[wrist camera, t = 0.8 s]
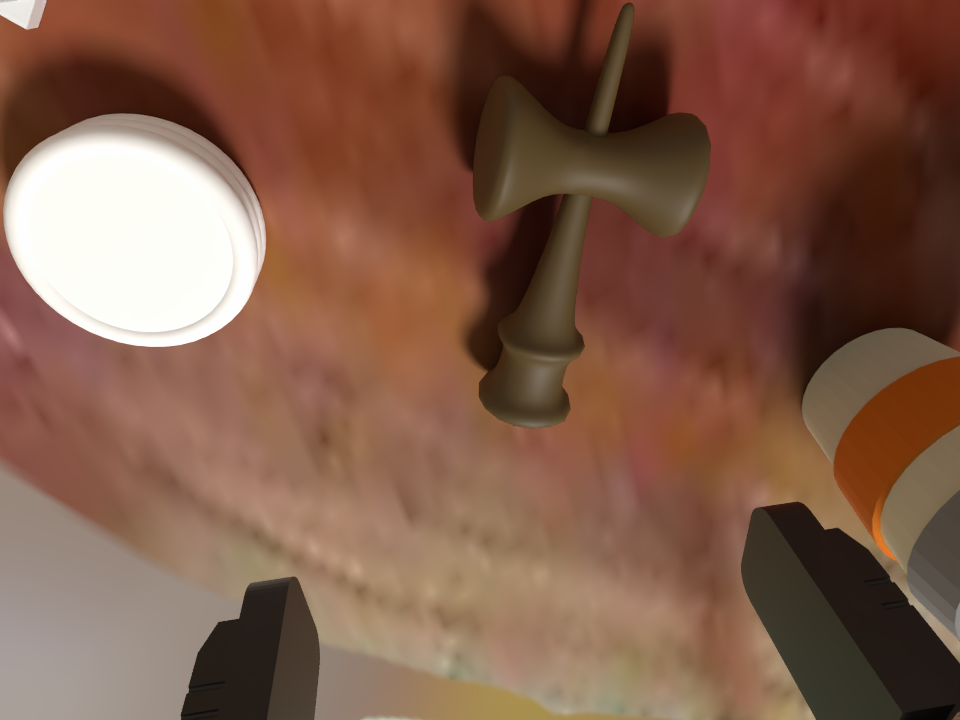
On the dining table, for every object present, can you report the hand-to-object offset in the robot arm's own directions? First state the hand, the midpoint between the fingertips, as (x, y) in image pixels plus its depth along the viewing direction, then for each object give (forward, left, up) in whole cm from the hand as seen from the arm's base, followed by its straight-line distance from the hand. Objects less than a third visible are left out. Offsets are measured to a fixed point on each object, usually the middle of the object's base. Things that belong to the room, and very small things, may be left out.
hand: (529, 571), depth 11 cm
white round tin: (+8, -10, -23) cm, 27 cm away
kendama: (-2, +6, -23) cm, 24 cm away
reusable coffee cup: (-4, +31, -23) cm, 39 cm away
